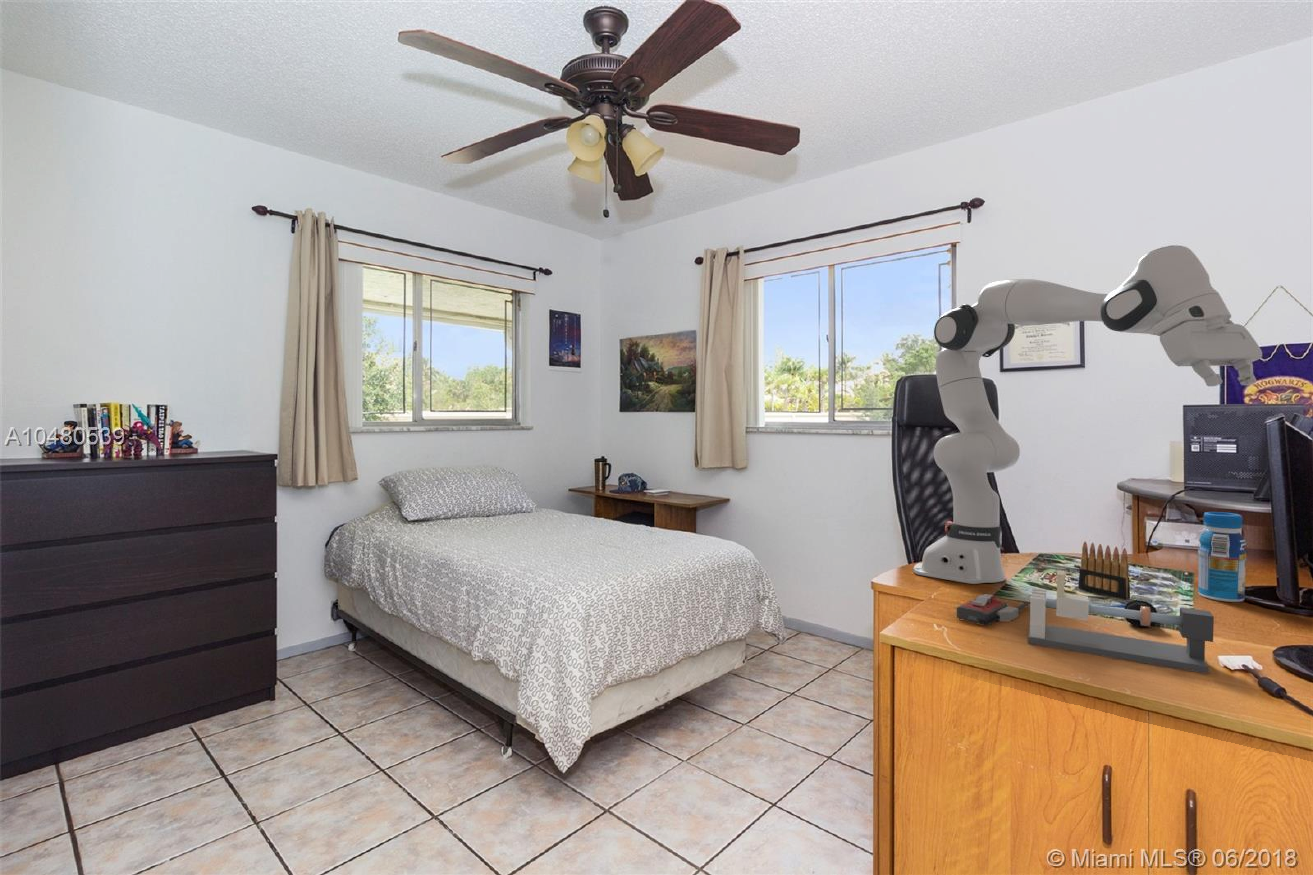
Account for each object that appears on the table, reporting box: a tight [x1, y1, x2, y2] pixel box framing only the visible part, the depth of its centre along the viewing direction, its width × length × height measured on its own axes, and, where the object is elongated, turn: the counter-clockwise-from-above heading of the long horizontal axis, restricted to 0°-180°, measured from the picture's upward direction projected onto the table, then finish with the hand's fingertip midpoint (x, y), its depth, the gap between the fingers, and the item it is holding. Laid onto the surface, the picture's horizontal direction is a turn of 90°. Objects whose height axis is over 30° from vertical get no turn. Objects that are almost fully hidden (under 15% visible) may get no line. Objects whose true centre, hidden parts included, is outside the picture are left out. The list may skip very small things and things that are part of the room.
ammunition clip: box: [1078, 541, 1131, 600], centre depth 150 cm, size 11×2×12 cm, turn 26°
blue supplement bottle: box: [1197, 511, 1247, 603], centre depth 145 cm, size 8×8×20 cm
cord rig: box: [1027, 587, 1215, 675], centre depth 114 cm, size 27×10×9 cm, turn 57°
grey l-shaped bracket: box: [1056, 569, 1090, 621], centre depth 117 cm, size 5×4×8 cm
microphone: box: [1123, 599, 1158, 629], centre depth 132 cm, size 6×6×20 cm
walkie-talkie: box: [956, 593, 1029, 626], centre depth 135 cm, size 9×4×20 cm
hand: (1232, 384), depth 113 cm, fingers open, 8 cm apart
